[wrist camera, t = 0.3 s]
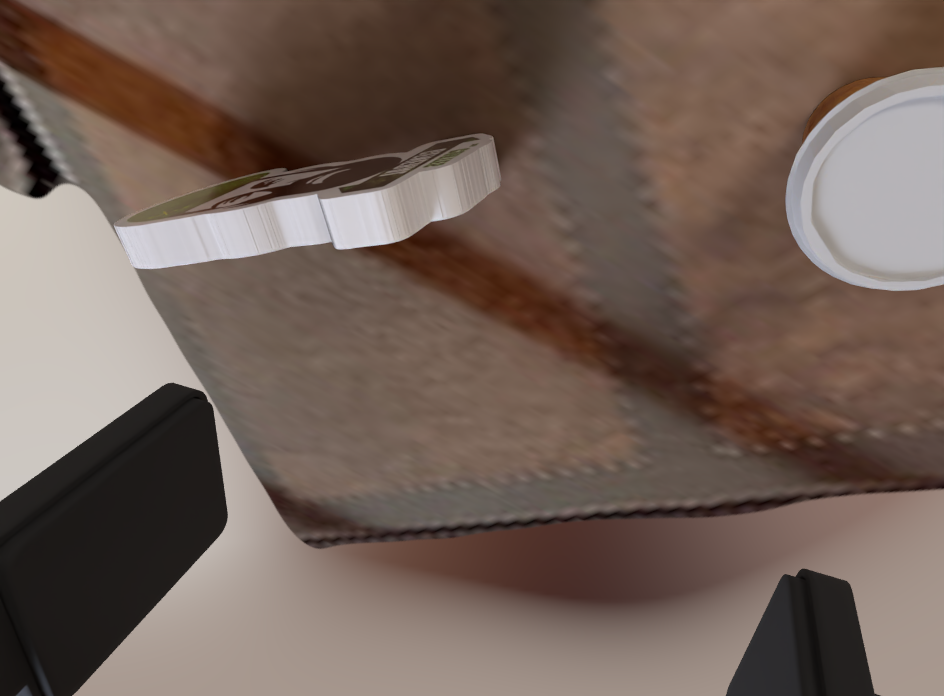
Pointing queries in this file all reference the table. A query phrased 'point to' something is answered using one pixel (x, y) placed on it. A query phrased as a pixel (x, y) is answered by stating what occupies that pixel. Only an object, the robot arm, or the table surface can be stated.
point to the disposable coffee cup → (874, 182)
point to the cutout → (315, 205)
